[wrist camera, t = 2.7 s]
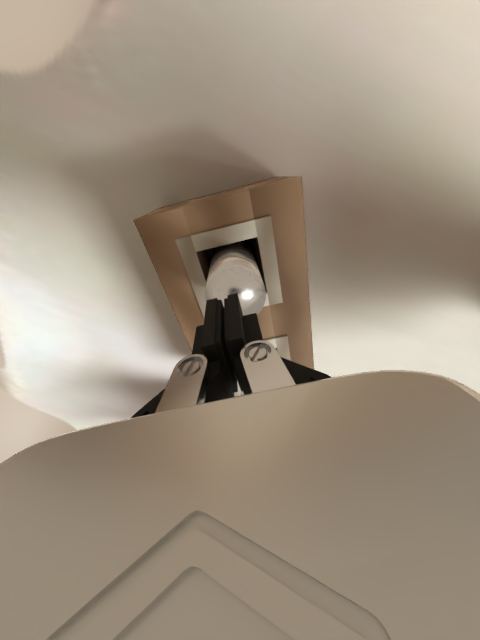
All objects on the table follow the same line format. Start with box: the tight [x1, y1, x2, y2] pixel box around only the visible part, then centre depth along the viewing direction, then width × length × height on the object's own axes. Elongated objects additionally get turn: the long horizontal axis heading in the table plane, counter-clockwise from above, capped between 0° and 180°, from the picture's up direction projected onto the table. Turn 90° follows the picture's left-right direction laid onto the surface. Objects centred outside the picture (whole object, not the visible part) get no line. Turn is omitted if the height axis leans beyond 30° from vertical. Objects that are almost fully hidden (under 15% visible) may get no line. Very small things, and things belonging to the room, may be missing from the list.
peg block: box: [134, 177, 314, 397], centre depth 25 cm, size 12×22×8 cm, turn 13°
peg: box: [205, 242, 266, 316], centre depth 18 cm, size 4×4×7 cm
